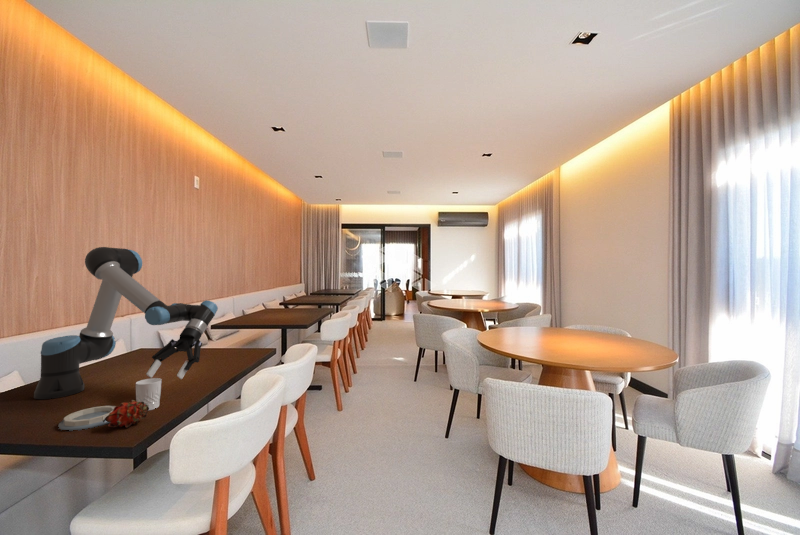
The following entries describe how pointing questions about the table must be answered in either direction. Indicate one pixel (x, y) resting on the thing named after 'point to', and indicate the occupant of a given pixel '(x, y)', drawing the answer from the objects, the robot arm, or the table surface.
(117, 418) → the dragon fruit
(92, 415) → the ring plate
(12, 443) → the table surface
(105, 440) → the table surface
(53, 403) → the table surface
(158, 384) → the white cup
